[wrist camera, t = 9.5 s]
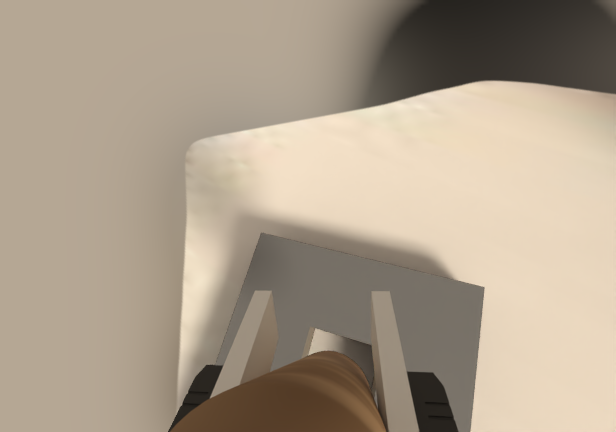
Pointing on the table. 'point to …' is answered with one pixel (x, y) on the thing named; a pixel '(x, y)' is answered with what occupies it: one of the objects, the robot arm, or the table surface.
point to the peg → (293, 401)
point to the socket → (366, 311)
